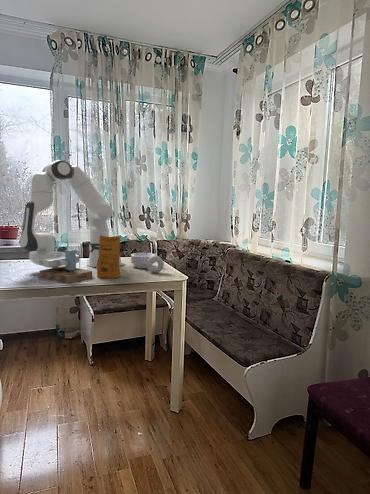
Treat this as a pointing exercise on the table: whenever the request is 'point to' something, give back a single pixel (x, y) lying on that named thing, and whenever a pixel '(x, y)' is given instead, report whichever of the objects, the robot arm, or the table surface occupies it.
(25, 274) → the table surface
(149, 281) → the table surface
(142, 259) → the paper bowls
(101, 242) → the coffee package
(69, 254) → the keyhole peg
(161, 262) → the donut
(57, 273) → the keyhole board
